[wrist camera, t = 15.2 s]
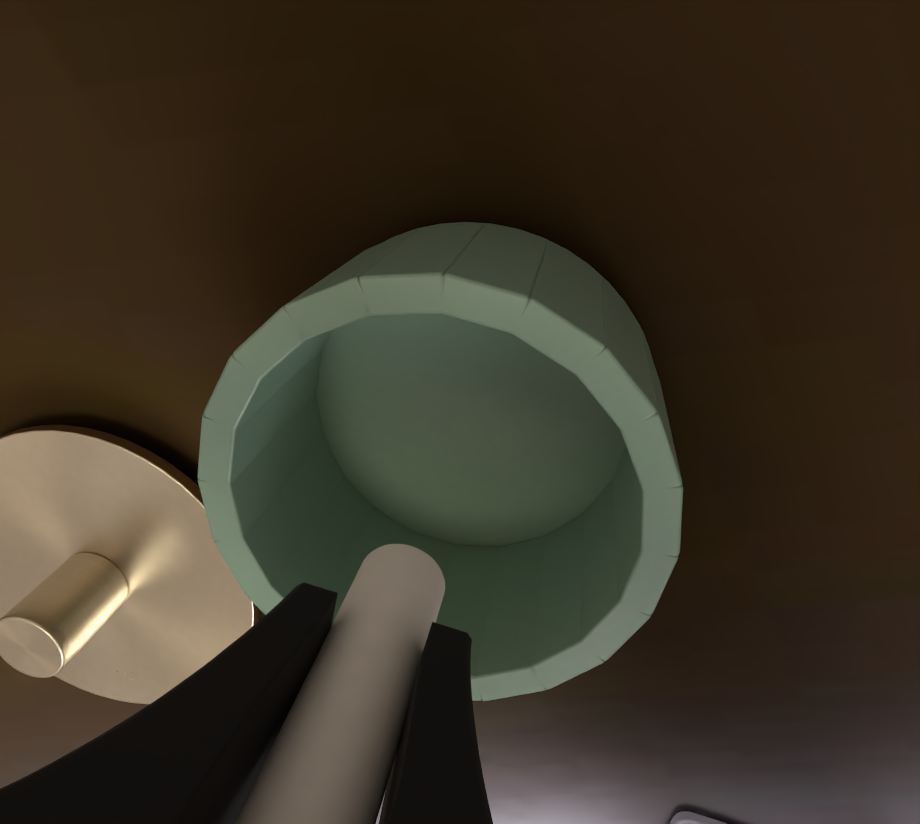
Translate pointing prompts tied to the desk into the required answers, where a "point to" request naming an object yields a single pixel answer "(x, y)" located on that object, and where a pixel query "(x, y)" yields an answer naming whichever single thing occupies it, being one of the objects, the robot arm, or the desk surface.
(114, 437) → the canister lid
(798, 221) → the desk surface
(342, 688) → the marker
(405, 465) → the canister
